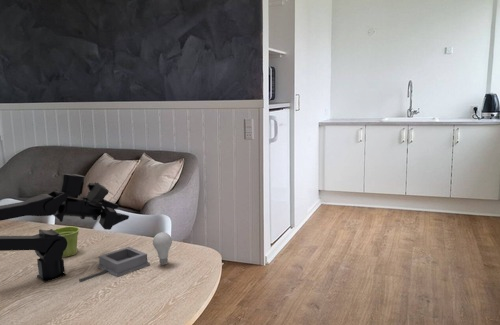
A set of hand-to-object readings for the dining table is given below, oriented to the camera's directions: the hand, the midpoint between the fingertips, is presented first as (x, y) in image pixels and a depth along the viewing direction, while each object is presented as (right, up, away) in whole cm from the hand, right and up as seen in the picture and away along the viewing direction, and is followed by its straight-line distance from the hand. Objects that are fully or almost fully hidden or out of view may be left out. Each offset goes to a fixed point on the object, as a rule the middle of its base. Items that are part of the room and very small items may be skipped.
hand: (123, 211), depth 148 cm
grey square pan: (-1, -18, -10) cm, 20 cm away
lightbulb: (+15, -17, -7) cm, 24 cm away
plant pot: (-21, -16, +5) cm, 27 cm away
